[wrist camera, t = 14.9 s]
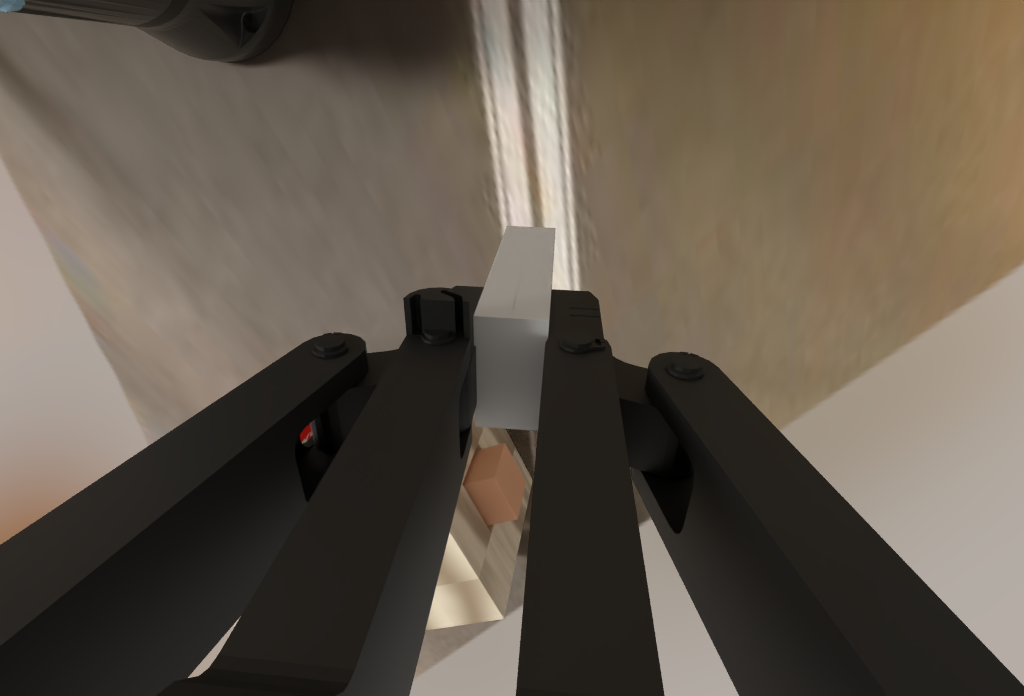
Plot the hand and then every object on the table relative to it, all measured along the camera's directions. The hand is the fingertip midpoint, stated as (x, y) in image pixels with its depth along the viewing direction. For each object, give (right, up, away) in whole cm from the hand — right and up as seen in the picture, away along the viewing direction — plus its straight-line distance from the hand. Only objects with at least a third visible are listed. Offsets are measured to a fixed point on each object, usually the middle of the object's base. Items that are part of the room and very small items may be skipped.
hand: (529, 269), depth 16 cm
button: (-3, -15, +35) cm, 38 cm away
